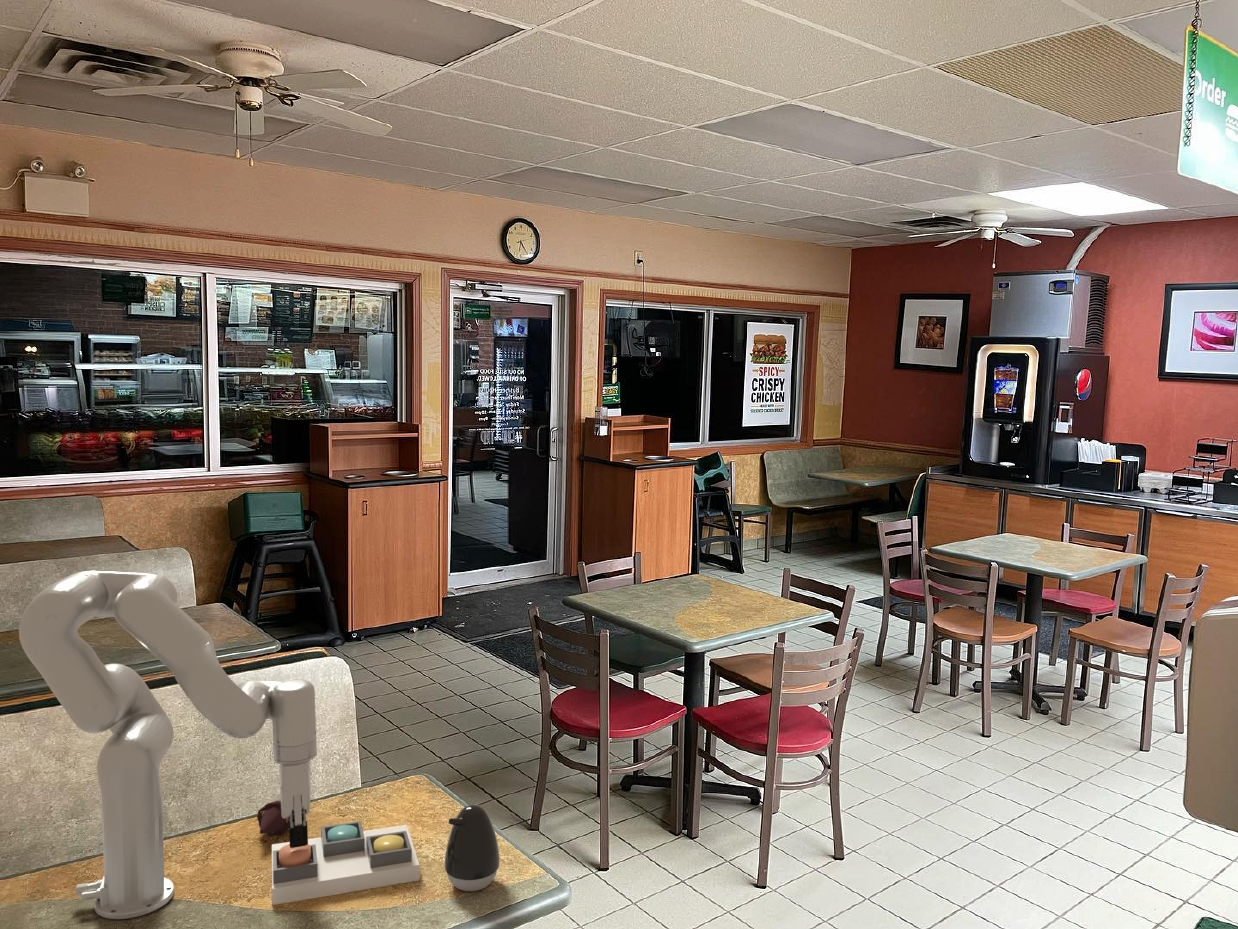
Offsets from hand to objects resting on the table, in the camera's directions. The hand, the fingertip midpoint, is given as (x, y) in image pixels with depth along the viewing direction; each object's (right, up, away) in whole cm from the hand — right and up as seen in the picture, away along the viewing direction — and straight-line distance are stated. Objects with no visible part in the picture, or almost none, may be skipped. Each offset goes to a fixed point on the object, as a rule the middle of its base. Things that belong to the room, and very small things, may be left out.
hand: (298, 844), depth 170 cm
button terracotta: (-1, -3, 0) cm, 3 cm away
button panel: (+6, -8, +6) cm, 12 cm away
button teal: (+5, -4, +10) cm, 12 cm away
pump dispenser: (+32, -9, +2) cm, 33 cm away
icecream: (-12, -6, +20) cm, 24 cm away
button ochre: (+15, -4, +6) cm, 17 cm away
